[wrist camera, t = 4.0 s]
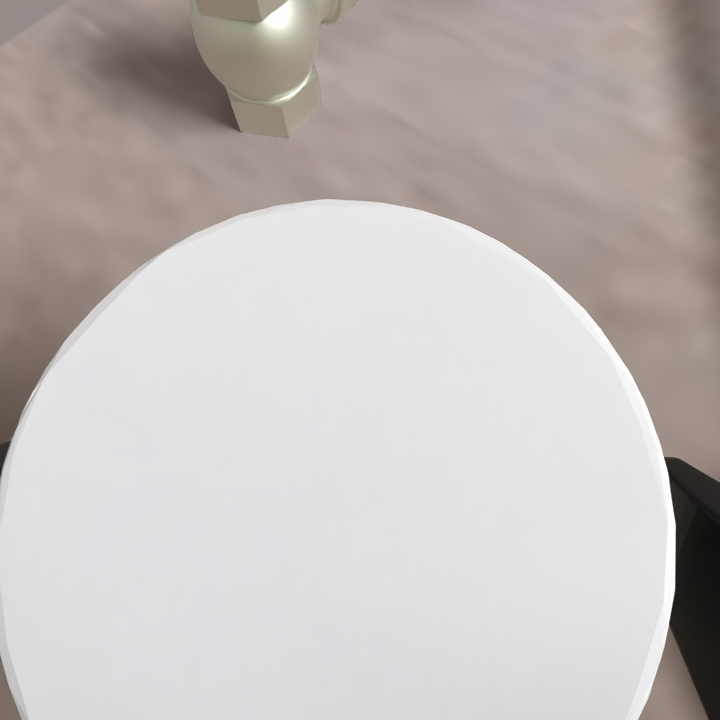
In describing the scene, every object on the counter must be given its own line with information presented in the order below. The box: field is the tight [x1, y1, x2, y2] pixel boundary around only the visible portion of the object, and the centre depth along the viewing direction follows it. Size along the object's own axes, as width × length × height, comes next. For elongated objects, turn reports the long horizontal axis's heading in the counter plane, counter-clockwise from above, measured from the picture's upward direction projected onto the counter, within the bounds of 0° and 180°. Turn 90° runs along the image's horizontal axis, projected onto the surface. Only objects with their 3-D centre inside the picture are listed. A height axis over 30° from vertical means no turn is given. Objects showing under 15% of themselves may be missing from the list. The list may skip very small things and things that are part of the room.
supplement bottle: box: [0, 199, 676, 720], centre depth 10 cm, size 7×7×13 cm
